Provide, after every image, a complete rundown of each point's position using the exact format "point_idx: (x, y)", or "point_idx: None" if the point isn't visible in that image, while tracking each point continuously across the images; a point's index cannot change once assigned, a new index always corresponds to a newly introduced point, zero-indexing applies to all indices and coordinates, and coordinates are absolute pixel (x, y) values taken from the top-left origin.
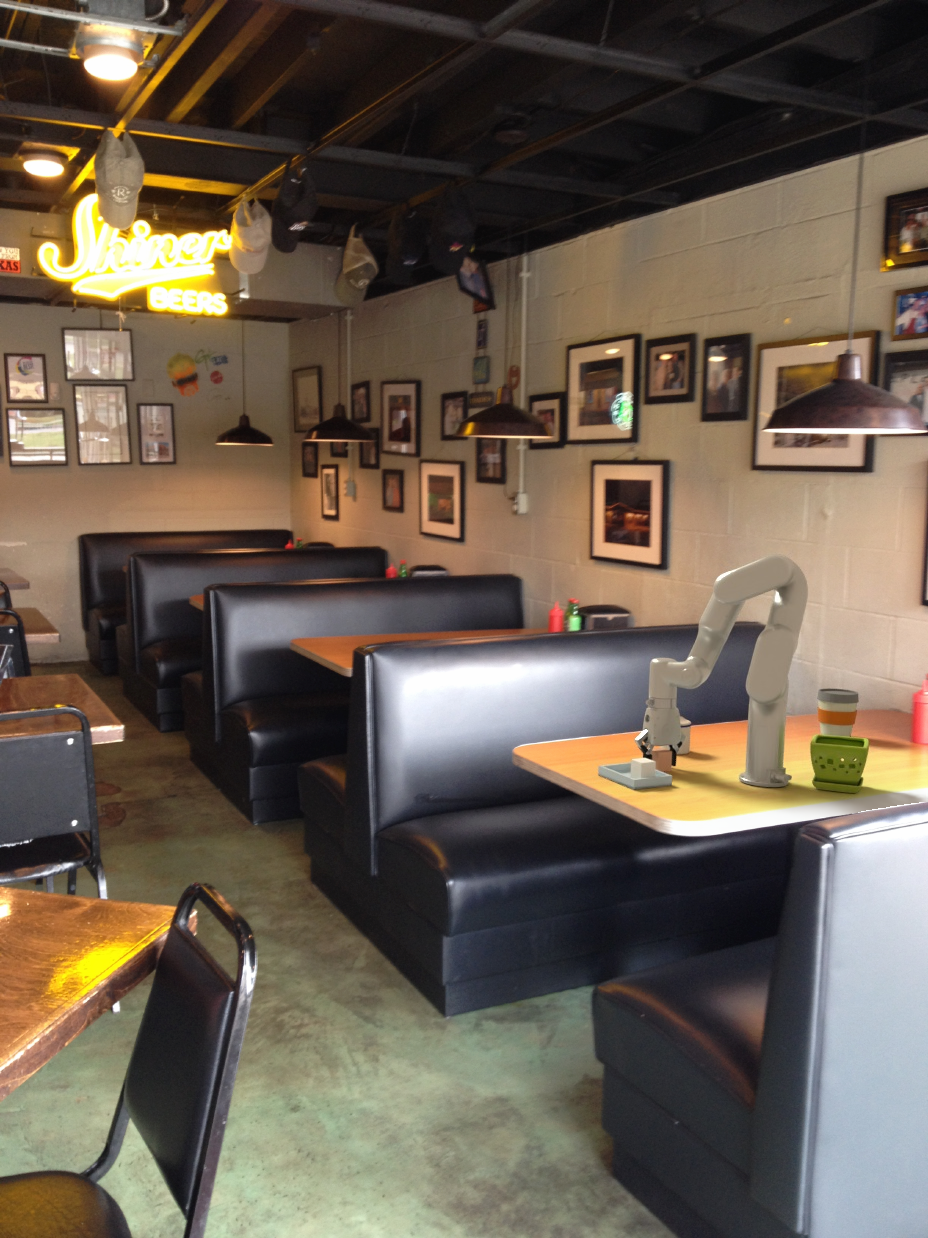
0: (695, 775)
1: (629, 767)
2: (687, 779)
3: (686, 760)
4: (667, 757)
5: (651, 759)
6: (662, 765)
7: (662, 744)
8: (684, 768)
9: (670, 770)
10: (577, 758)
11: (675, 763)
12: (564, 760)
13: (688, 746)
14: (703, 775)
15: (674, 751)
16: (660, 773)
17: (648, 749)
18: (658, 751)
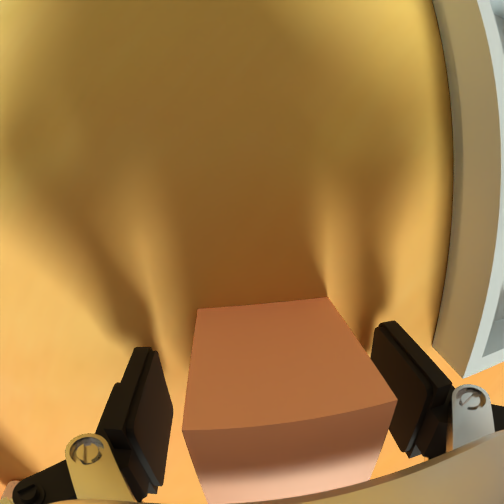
0: (83, 129)
1: (491, 335)
2: (227, 31)
3: (25, 439)
4: (248, 379)
5: (418, 361)
6: (297, 328)
7: (420, 478)
8: (69, 337)
9: (204, 311)
10: None
11: (136, 357)
12: None
13: (4, 496)
14: (32, 120)
15: (116, 451)
16: (497, 52)
17: (492, 416)
18: (351, 445)
